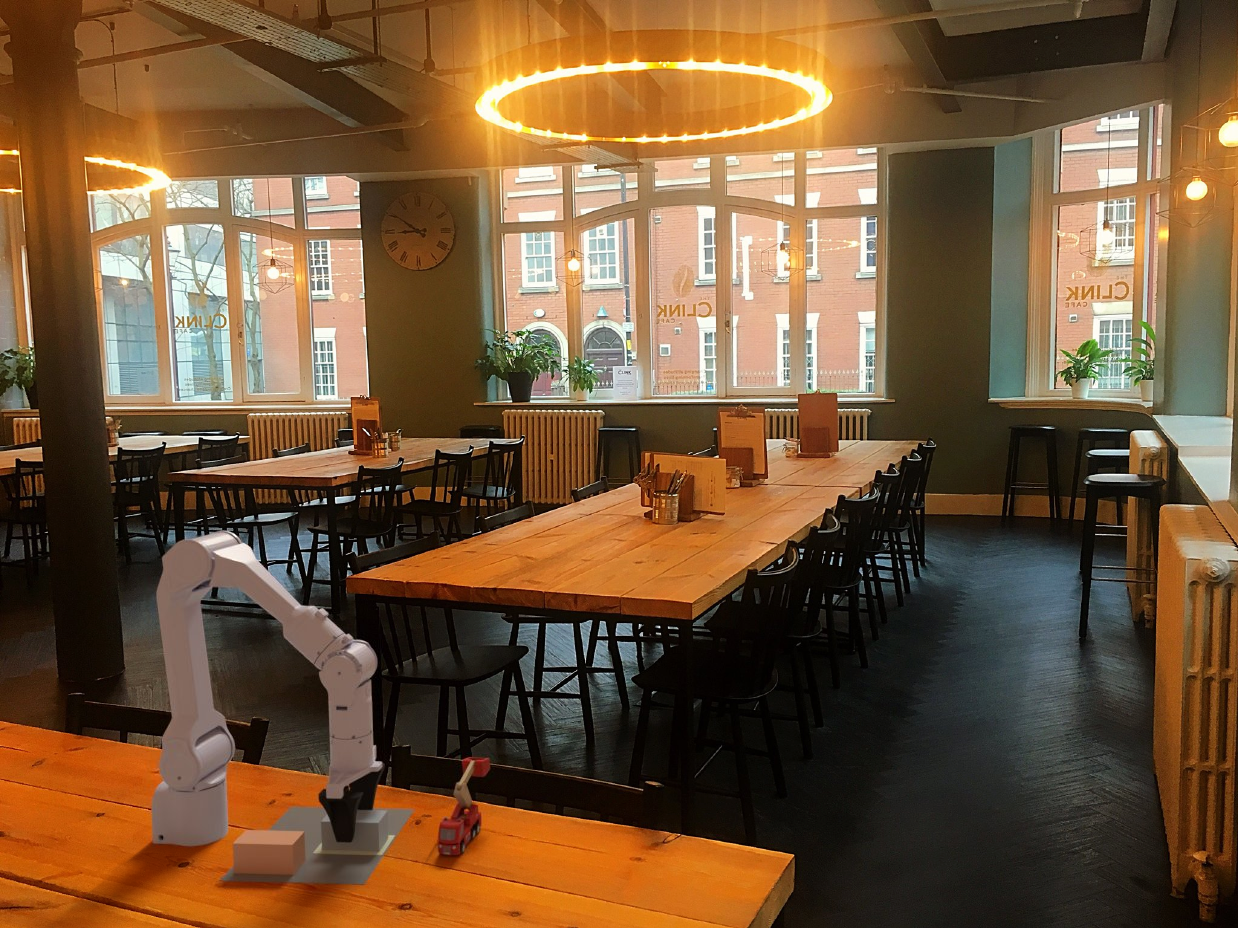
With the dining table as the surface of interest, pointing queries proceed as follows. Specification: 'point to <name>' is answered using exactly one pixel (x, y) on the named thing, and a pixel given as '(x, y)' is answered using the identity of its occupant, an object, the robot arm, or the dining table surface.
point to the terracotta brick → (269, 852)
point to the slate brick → (359, 832)
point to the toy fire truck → (462, 811)
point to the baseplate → (326, 851)
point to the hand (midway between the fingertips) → (354, 828)
